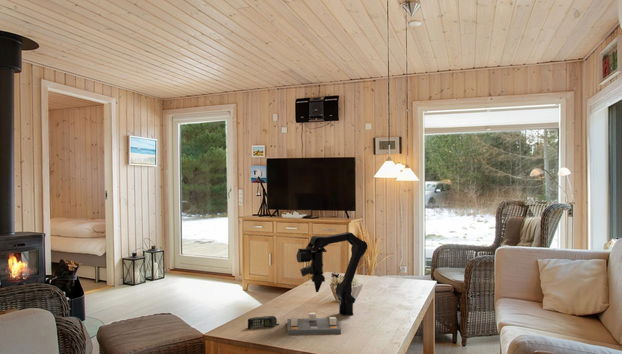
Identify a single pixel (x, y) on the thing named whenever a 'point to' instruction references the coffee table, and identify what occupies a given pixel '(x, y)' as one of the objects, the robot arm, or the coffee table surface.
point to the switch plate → (313, 327)
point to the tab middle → (312, 316)
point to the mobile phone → (262, 322)
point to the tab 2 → (332, 320)
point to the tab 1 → (294, 322)
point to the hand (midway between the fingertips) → (316, 292)
